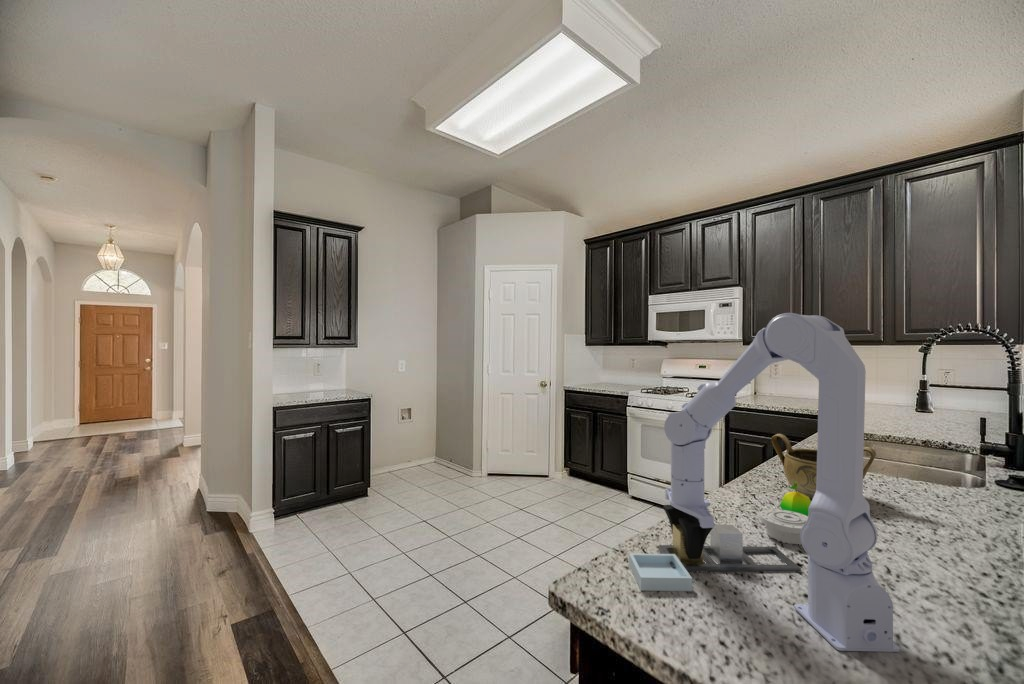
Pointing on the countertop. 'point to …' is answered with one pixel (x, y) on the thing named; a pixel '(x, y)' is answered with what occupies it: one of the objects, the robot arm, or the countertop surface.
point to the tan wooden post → (682, 546)
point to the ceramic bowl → (804, 465)
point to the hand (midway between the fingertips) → (687, 551)
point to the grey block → (726, 544)
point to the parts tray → (659, 572)
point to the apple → (795, 501)
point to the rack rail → (747, 567)
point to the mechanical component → (783, 525)
